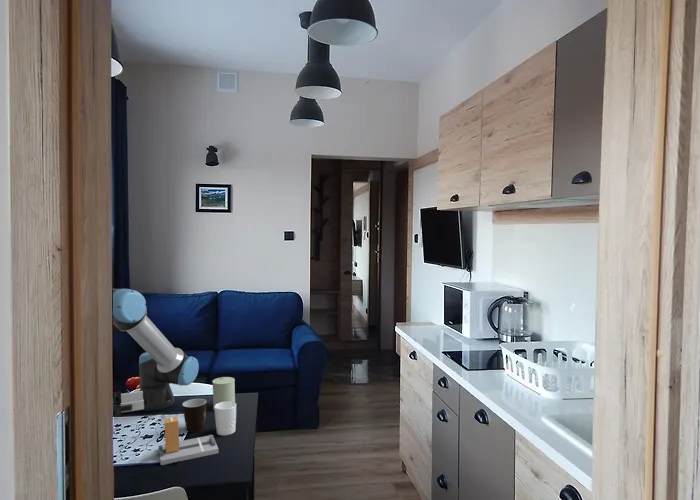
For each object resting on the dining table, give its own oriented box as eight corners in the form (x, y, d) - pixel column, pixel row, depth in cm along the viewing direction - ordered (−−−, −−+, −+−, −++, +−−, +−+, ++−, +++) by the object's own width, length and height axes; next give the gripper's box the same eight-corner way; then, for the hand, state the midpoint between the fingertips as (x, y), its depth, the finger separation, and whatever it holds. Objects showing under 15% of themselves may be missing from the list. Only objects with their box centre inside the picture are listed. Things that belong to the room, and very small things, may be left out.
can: (231, 401, 206) (231, 374, 206) (238, 408, 198) (237, 380, 198) (210, 406, 202) (209, 378, 201) (216, 413, 194) (215, 384, 193)
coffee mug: (200, 434, 173) (199, 407, 173) (178, 433, 175) (177, 406, 175) (215, 421, 185) (214, 396, 184) (195, 420, 187) (194, 395, 186)
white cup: (225, 438, 170) (224, 410, 170) (210, 433, 174) (209, 406, 174) (241, 430, 177) (240, 403, 177) (226, 425, 181) (225, 399, 181)
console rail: (158, 449, 162) (158, 442, 162) (212, 438, 170) (212, 432, 170) (160, 465, 151) (160, 457, 151) (218, 453, 159) (218, 445, 159)
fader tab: (165, 448, 159) (164, 418, 159) (178, 445, 161) (177, 416, 160) (166, 453, 156) (165, 422, 155) (179, 450, 157) (178, 420, 157)
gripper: (66, 412, 154) (142, 400, 164) (58, 438, 135) (144, 423, 144) (65, 389, 154) (141, 378, 163) (57, 412, 134) (144, 398, 144)
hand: (143, 399), depth 154 cm, fingers open, 9 cm apart
